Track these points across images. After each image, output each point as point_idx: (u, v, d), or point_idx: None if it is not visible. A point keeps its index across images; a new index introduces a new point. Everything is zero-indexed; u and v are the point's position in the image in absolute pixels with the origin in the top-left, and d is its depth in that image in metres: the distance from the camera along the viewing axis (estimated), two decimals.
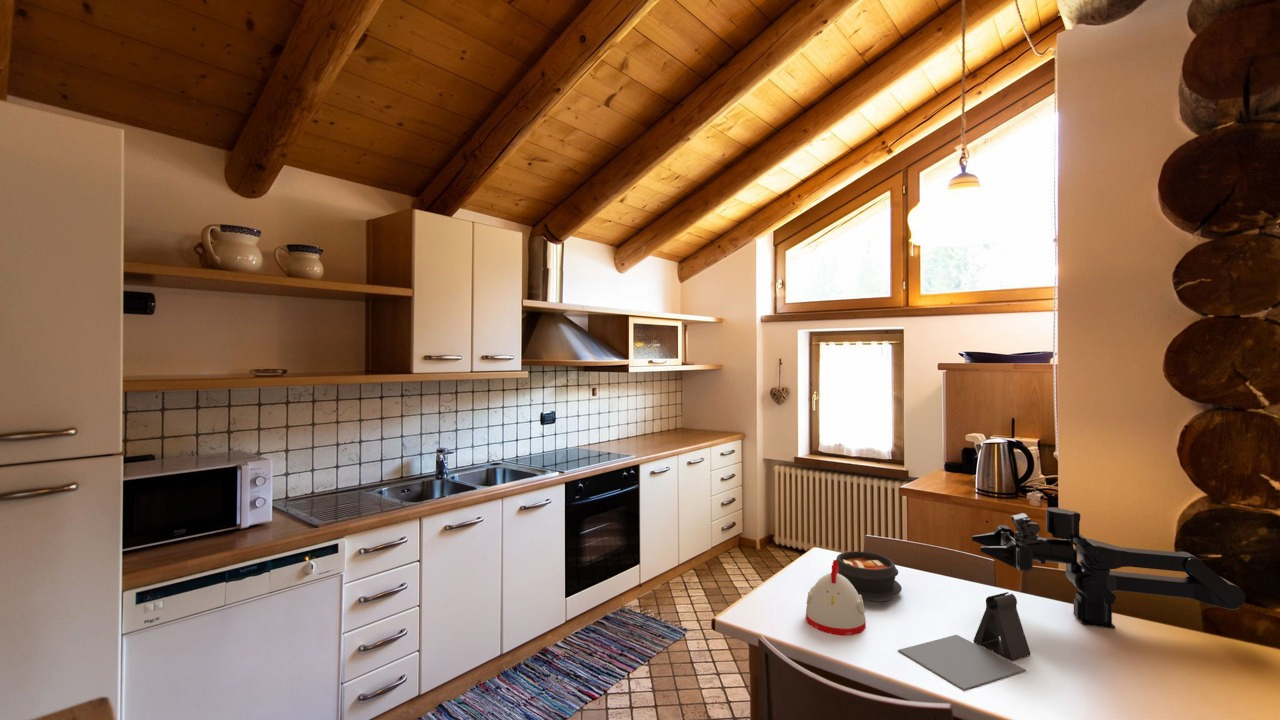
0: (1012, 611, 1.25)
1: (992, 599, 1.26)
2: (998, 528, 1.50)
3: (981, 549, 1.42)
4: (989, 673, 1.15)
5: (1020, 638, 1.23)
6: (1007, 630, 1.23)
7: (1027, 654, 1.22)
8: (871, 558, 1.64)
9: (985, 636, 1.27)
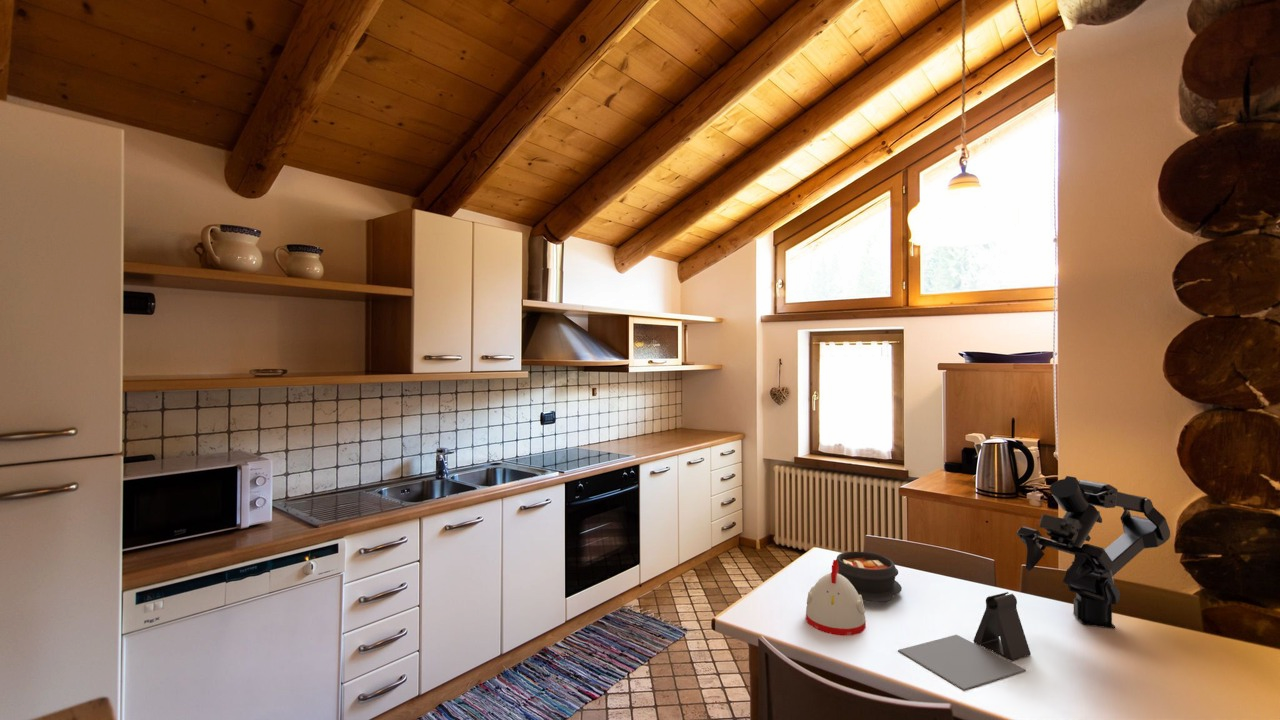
0: (1012, 611, 1.25)
1: (992, 599, 1.26)
2: (1028, 539, 1.38)
3: (1065, 582, 1.28)
4: (989, 673, 1.15)
5: (1020, 638, 1.23)
6: (1007, 630, 1.23)
7: (1027, 654, 1.22)
8: (871, 558, 1.64)
9: (985, 636, 1.27)
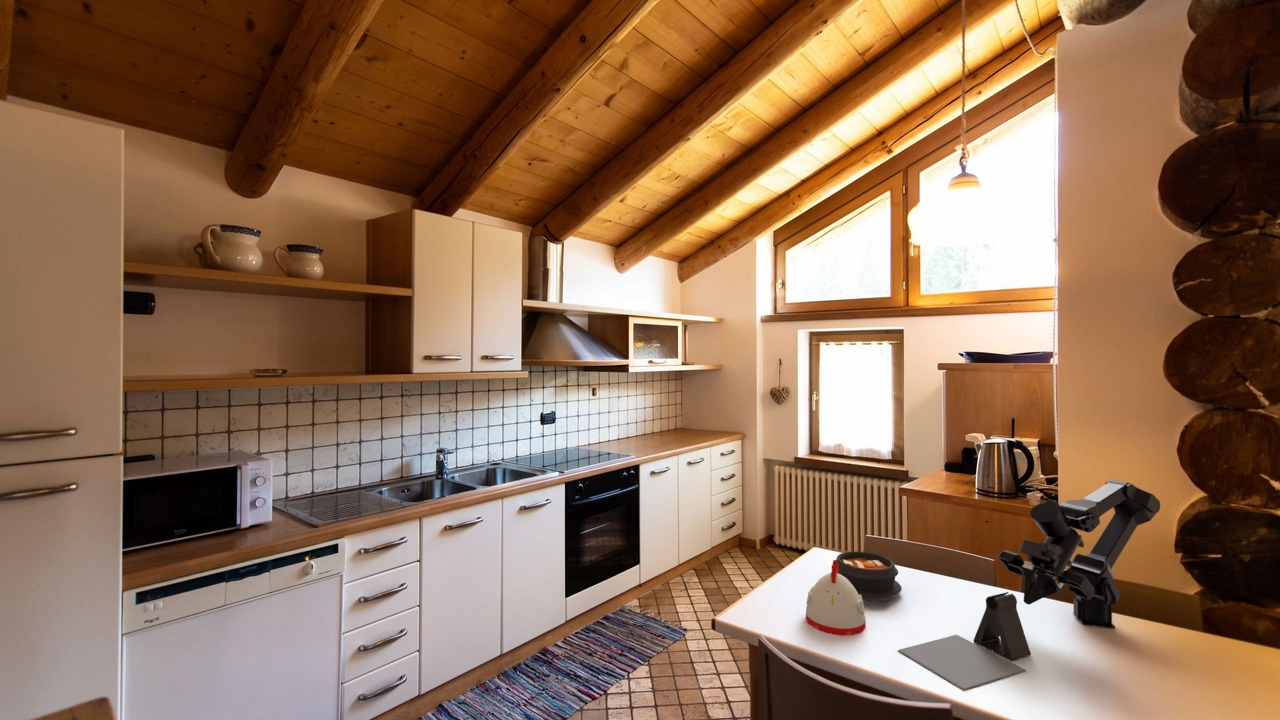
0: (1012, 611, 1.25)
1: (992, 599, 1.26)
2: (1026, 569, 1.32)
3: (1027, 602, 1.29)
4: (989, 673, 1.15)
5: (1020, 638, 1.23)
6: (1007, 630, 1.23)
7: (1027, 654, 1.22)
8: (871, 558, 1.64)
9: (985, 636, 1.27)
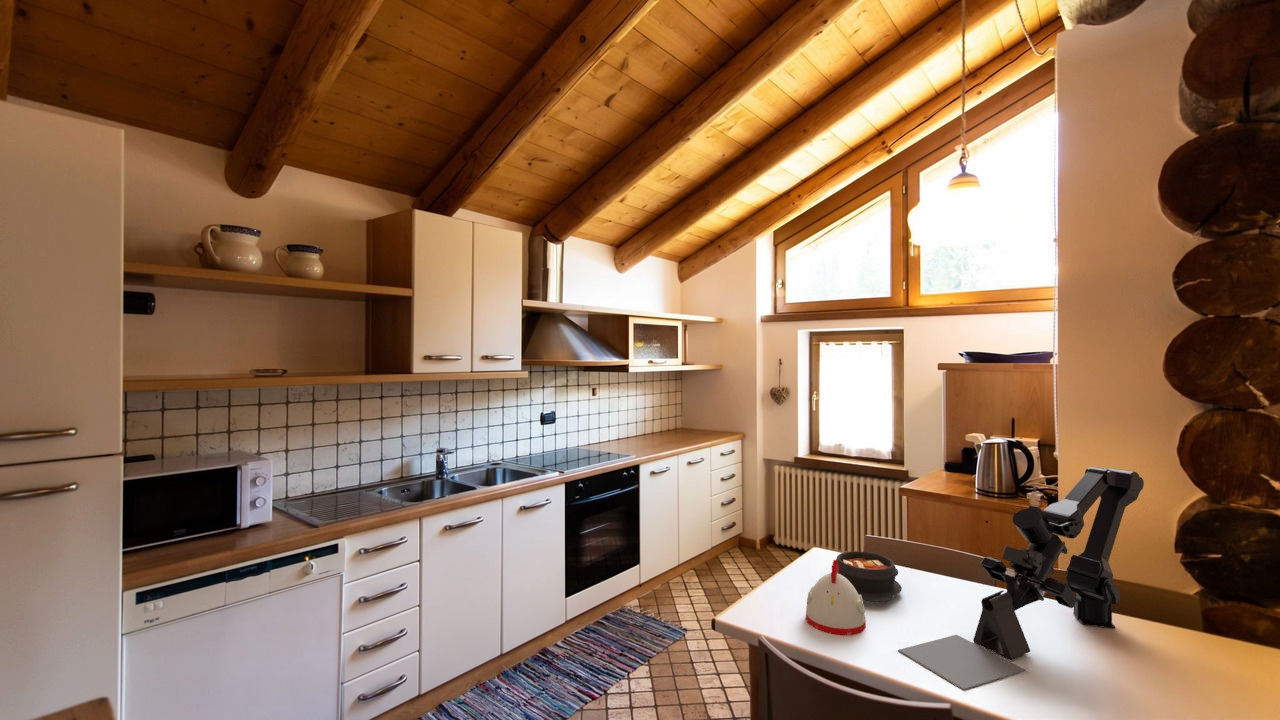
0: (1008, 610, 1.25)
1: (988, 599, 1.26)
2: (1008, 576, 1.29)
3: None
4: (989, 673, 1.15)
5: (1019, 636, 1.23)
6: (1005, 630, 1.22)
7: (1027, 651, 1.22)
8: (871, 558, 1.64)
9: (984, 635, 1.27)
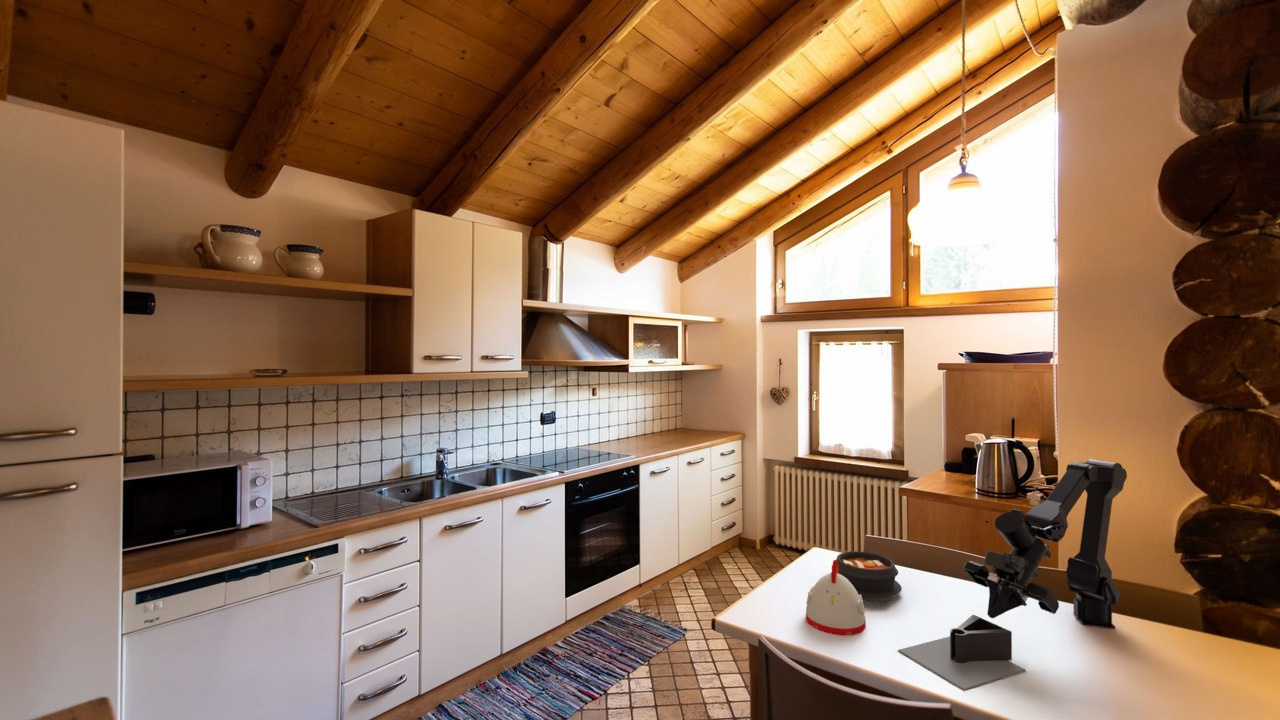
0: (970, 640, 1.20)
1: (952, 648, 1.22)
2: (991, 582, 1.27)
3: (991, 616, 1.24)
4: (989, 673, 1.15)
5: (996, 639, 1.20)
6: (986, 655, 1.20)
7: (1010, 637, 1.20)
8: (871, 558, 1.64)
9: None
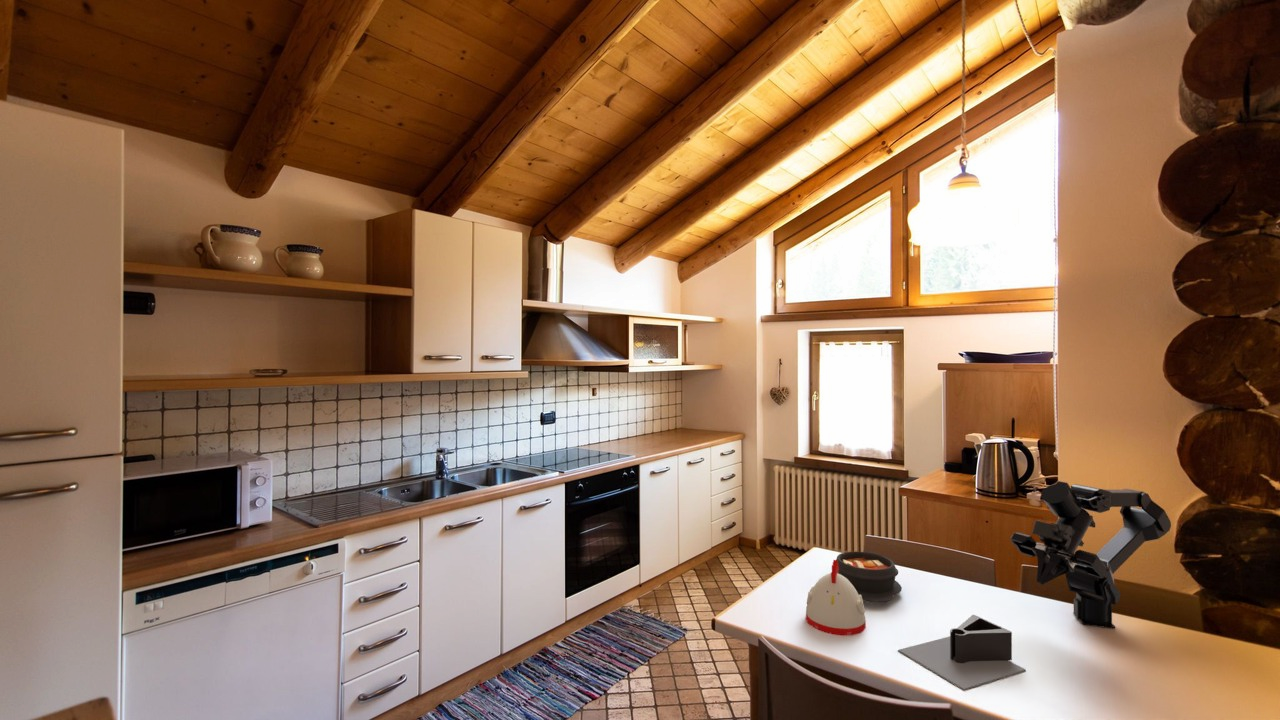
0: (970, 640, 1.20)
1: (952, 648, 1.22)
2: (1039, 550, 1.34)
3: (1040, 582, 1.31)
4: (989, 673, 1.15)
5: (996, 639, 1.20)
6: (986, 655, 1.20)
7: (1010, 637, 1.20)
8: (871, 558, 1.64)
9: None
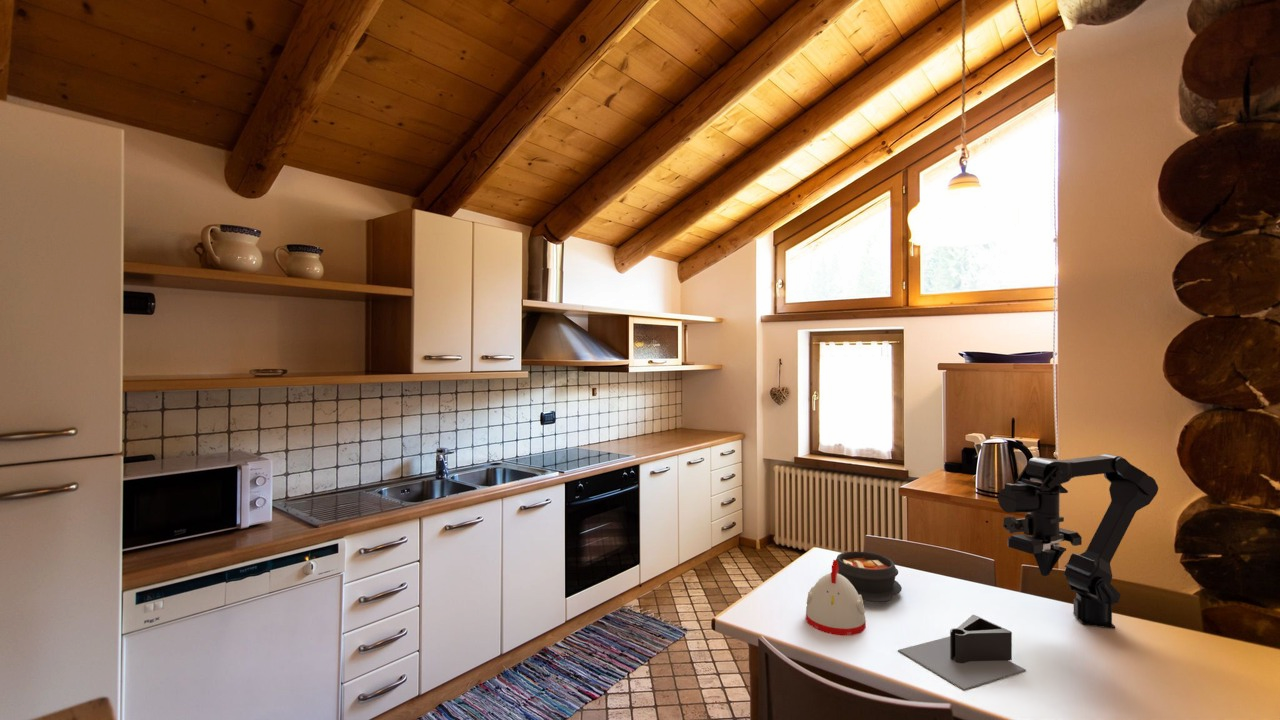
0: (970, 640, 1.20)
1: (952, 648, 1.22)
2: None
3: (1044, 574, 1.37)
4: (989, 673, 1.15)
5: (996, 639, 1.20)
6: (986, 655, 1.20)
7: (1010, 637, 1.20)
8: (871, 558, 1.64)
9: None
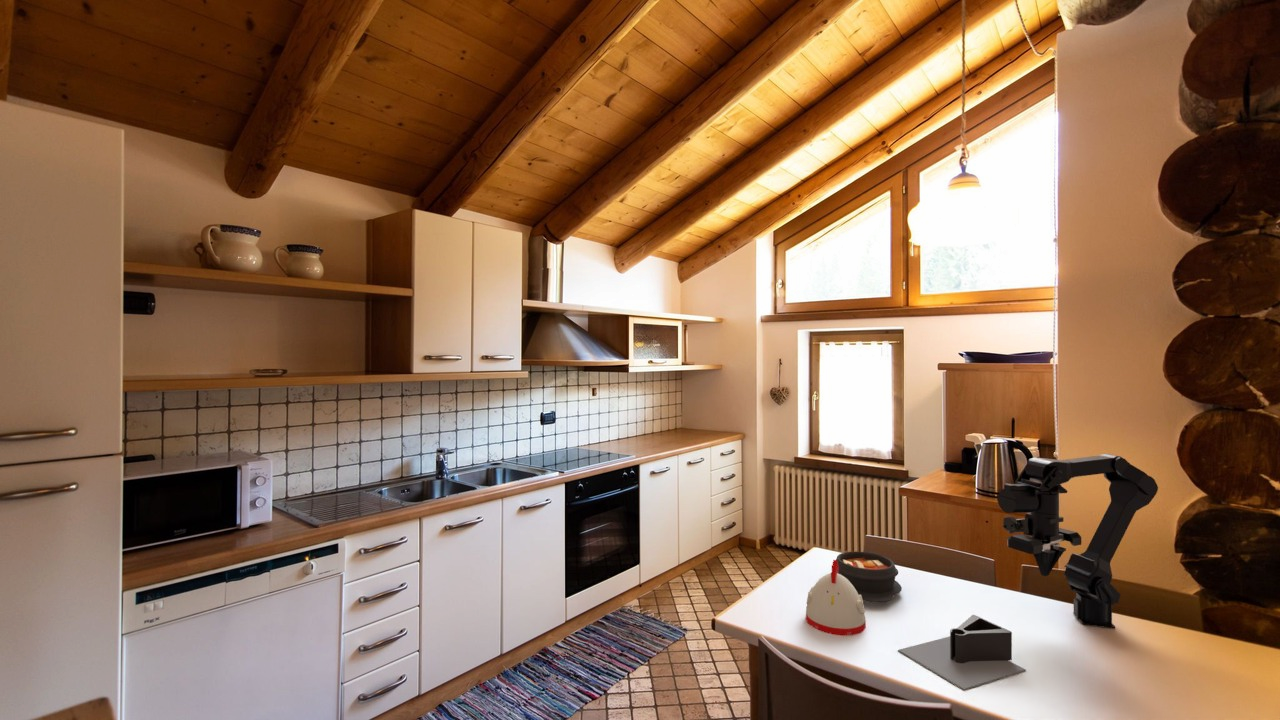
0: (970, 640, 1.20)
1: (952, 648, 1.22)
2: None
3: (1043, 574, 1.37)
4: (989, 673, 1.15)
5: (996, 639, 1.20)
6: (986, 655, 1.20)
7: (1010, 637, 1.20)
8: (871, 558, 1.64)
9: None
